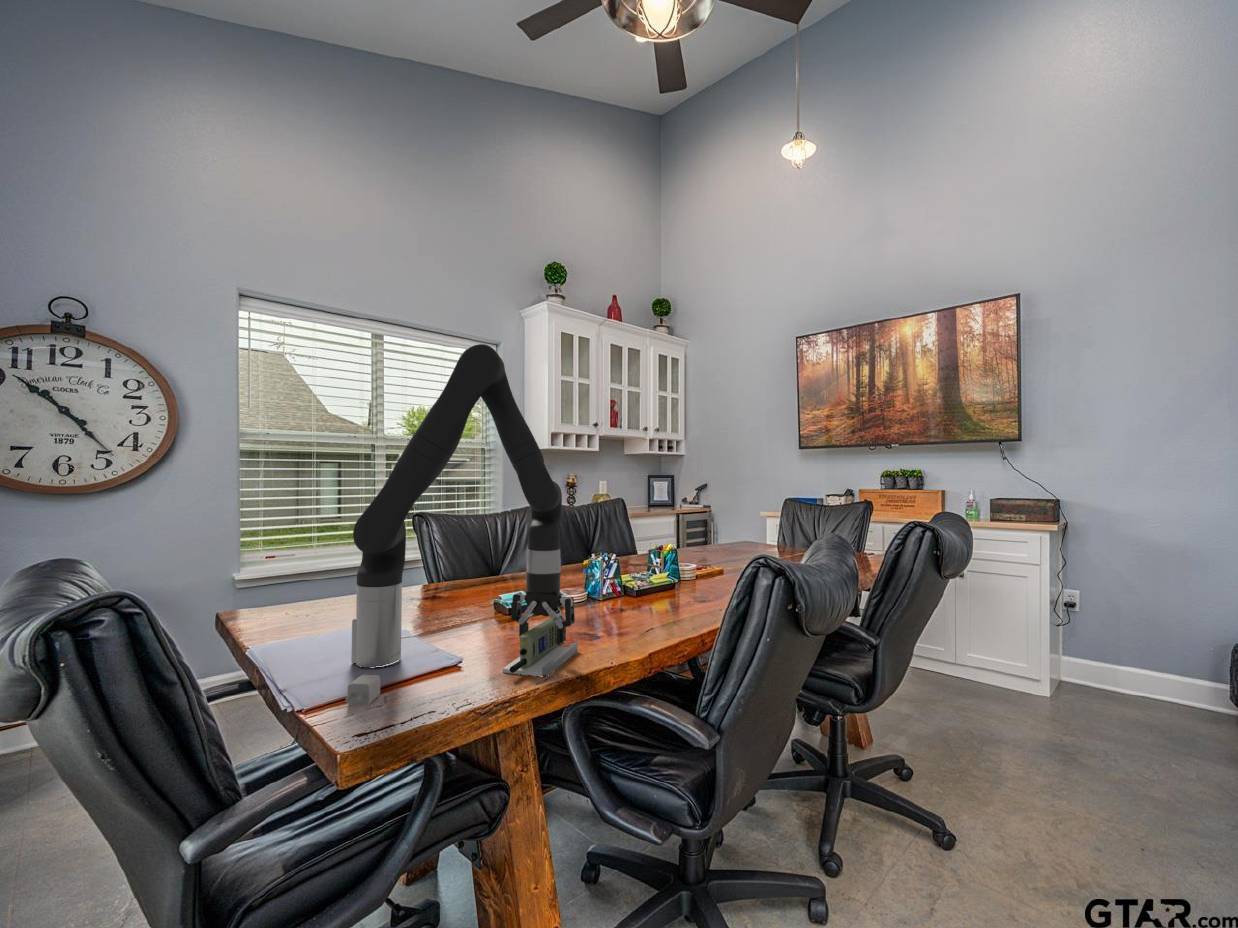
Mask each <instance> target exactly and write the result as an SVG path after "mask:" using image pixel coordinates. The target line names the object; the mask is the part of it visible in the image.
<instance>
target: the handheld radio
mask: <svg viewBox="0 0 1238 928" xmlns="http://www.w3.org/2000/svg"><path fill="white" fill-rule="evenodd" d="M557 628H559V627H558V626H557V624H556V623H555V621H553V620H552V618H551V617H550V616H549V618H547V619H546V620H543V621H542V622H540V623H538V624H537V625H535V626H533V628H530V629H528V631H527V632H526V633H524V634H522V635H521V636H520V637H519V657H520V661H519V662H518V663H516V664H515V665H513V666H512V667H510V672H511V673H510V674H512V673H514V672H515V671H517V670H518V669H520V668H521V669H527V668H528V667H530V666H531V665H532V664H534V663H535V662H536V661H538V660H539V659H540V658H542V657H543V656H544V655H546V654H547V653H548V652H550V651H551V650H552V649H554V648H555V647H556V646H559V645H557Z"/></svg>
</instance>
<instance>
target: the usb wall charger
mask: <svg viewBox="0 0 1238 928" xmlns="http://www.w3.org/2000/svg"><path fill="white" fill-rule="evenodd" d="M380 695H381V676H380V675H378V674H361V675H360V676H358V677H357V678H355V680H353V681H352V682H351V683H349V684H348V685H347V696H346V697H345V703H347V704H348V706H352V707H353V706H360V707H368V706H369V705H370V704H371V703H372V702H373V701H375V700H376V699H377V698H378V697H379V696H380Z"/></svg>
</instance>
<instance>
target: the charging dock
mask: <svg viewBox="0 0 1238 928" xmlns="http://www.w3.org/2000/svg"><path fill="white" fill-rule="evenodd" d="M578 649H579V648H578V642H572V643H571V644H570V645H569V646H562V645H558V646H556V647H555V648H554V649H552V650H551V651H550V652H548V653H547V654H546V655H544V656H543V657H542V658H540V659H539V660H538V661H536V662H535V663H534V664H532V665H531V666H530V667H528V668H527V669H521V668H520V669H518V670H517V671H515V672H514V673H511V672H510V667H512V666H513V665H515V664H516V663H518V662H519V661H520V656H518V657H517V658H515V659H514V660H513V661H511V662H510V663H509V664H506V666H504V667H503V668H502V673H506V674H513V675H520V674H521V676H522V675H523V676H528V675H532V676H531V677H536V676H543V677H542V678H544V677H547V676H548V675H549V676H551V675H552V674H553V673H554V672H555V671H556V670H558V669H559V668H560V667H561V666H562V665H564V662H565V661H566V662H567V661H568V660H569V659H571V658H572V657H573V656H574V655H575V654H577V653H578ZM566 662H565V663H566ZM558 667H559V668H558ZM557 668H558V669H557ZM553 671H554V672H553ZM552 672H553V673H552ZM551 673H552V674H551ZM550 674H551V675H550ZM549 676H548V677H549ZM548 677H547V678H548Z"/></svg>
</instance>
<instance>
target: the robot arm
mask: <svg viewBox="0 0 1238 928" xmlns="http://www.w3.org/2000/svg"><path fill="white" fill-rule="evenodd" d="M480 398H481V400H483V402H484V404H485V405H486V407H487V409H488V412H489V414H490V415H491V417H492V419H493V423H494V425H495V427H496V431H497V433H498V436H499V439H500V441H501V444H502V447H503V449H504V451H505V453H506V455H507V457H508V459H509V462H510V464H511V465H512V468H513V470H515V472H516V475H517V478H518V481H519V484H520V487H521V489H522V493H523V495H524V498H525V499H526V502H527V504H528V505H529V506H530V507H531V516H530V517H531V518H530V519H531V521H530V524H529V527H528V533H527V555H526V571H525V573H526V576H525V578H526V579H525V580H526V581H525V582H526V583H525V590H526V594H524V593H522V592H519V591H518V592H517V593H514V594H513V595H512V601H511V602H512V603H511V614H510V615H511V616H510V617H511V618H510V619H511V621H513V622H516V623H518V624H519V626H518V627H519V631H518V634H519V636H518V637H519V638H520V636H521V635H522V634H524V633H526V632H527V631H529V624H530V623H529V622H528V621H529V620H530V619H531V617H532V616H533V615H534V616H542V617H549V618H550V617H551V618H552V620H553V621H555V623H556V624H557V626H558V627H559V628H557V645H558V646H562V645H563V644H564V642H566V639H567V628H568V627H571V626H572V625H573V624H575V623H576V621H575V620H576V619H575V616H576V615H575V599H574V597H573V596H570V597H562V596H561V569H562V564H561V563H562V562H561V550H560V545H561V544H560V543H561V542H560V541H561V540H560V539H561V532H560V522H561V514H562V513H561V512H562V503H563V501H562V500H563V495H562V489H561V487H560V485H559V484H558V483H557V482H556V481H554V480H553V479H552V478H551V474H550V473H549V471H548V469H547V467H546V465H545V459H544V454H543V453H542V451H541V449H540V447H539V445H538V443H537V441H536V438H535V436H534V435H533V432H532V431H531V429H530V427H529V425H528V424H527V422H526V420H525V418H524V416H523V414H522V413H521V410H520V409H519V407H518V405H517V403H516V399H515V397H514V394H513V392H512V389H511V387H510V383H509V379H508V376H507V373H506V367H505V364H504V360H503V359H502V358H501V356H500V355H499V354H498V352H497V351H496V350H495V349H494V348H493V347H492V346H490V345H488V344H485V343H477V344H473V345H471V346H469V347H468V348H466V349H465V350H464V351H462V353H461V354H460V356H459V358H458V360H457V362H456V364H455V366H454V368H453V371H452V372H451V375H450V377H449V379H448V381H447V382H446V384H445V386H444V388H443V390H442V392H441V393H440V395H439V397H438V398H437V400H436V401H435V402H434V403H433V405H432V406H431V408H430V409H429V411H428V413H427V414H426V416H425V417H424V418H423V420H422V421H421V423H420V425H419V426H418V428H417V429H416V430H415V432H414V433H413V435H412V436H411V438H410V440H409V441H408V443H407V444H406V446H405V447H404V450H403V452H402V453H401V455H400V456H399V458H398V460H397V461H396V463H395V465H394V467H393V469H392V471H391V473H390V474H389V476H388V477H387V480H386V482H385V484H384V485H383V487H382V488H381V489H380V491H379V493H378V494H377V495H376V496H375V497H374V499H373V500H372V502H371V503H370V504H369V505H368V506H367V507H366V509H365V510H364V511H363V513H362V514H361V515H360V516H359V518H358V519H357V520H356V522H355V524H354V527H353V529H352V531H353V532H352V538H353V542H354V545H355V546H356V548H357V549H358V550H360V552H362V555H361V556H362V557H361V563H360V565H359V568H358V570H357V572H356V598H355V599H356V600H355V601H356V602H355V603H356V607H355V609H356V610H355V613H356V614H355V618H353V619H352V620H351V659H350V660H351V662H352V663H356V664H355V666H356V665H358V666H361V667H376V666H383V665H386V664H390V663H393V662H395V661H397V660H399V659H400V658H401V659H402V621H403V620H402V615H403V614H402V607H403V593H402V592H403V574H404V573H403V572H404V569H405V566H406V565H405V564H406V548H407V547H406V546H407V545H406V544H407V531H406V529H407V527H406V523H405V520H406V518H407V516H408V514H409V513H410V511H411V509H412V508H413V506H414V504H415V503H416V502H417V501H418V500H419V498H420V497H421V496H422V495H423V494H424V493H425V492H426V491H427V490H428V489H429V487H430V486H431V485H432V484H433V483H434V482H435V480H437V478H438V477H439V475H441V474H442V472H443V470H444V469H445V468H446V466H447V464H449V461H450V460H451V459H452V456H453V455H454V453H455V452H456V450H457V447H459V444H460V441H461V439H462V436H463V433H464V430H465V428H466V424H467V422H468V419H469V416H470V414H471V412H472V411H473V408H474V407H475V405H476V403H477V402H478V401H479V399H480ZM524 602H525V603H526V605H527V608H526V609H525V611H524V612H523V614H522V608H523V607H522V604H523V603H524ZM561 604H562V607H563V608H564V611H565V613H564V615H565V616H564V615H563V612H562V610H561V608H560V607H559V606H560V605H561ZM352 663H351V664H352ZM358 666H357V667H358ZM361 667H360V668H361Z"/></svg>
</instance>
